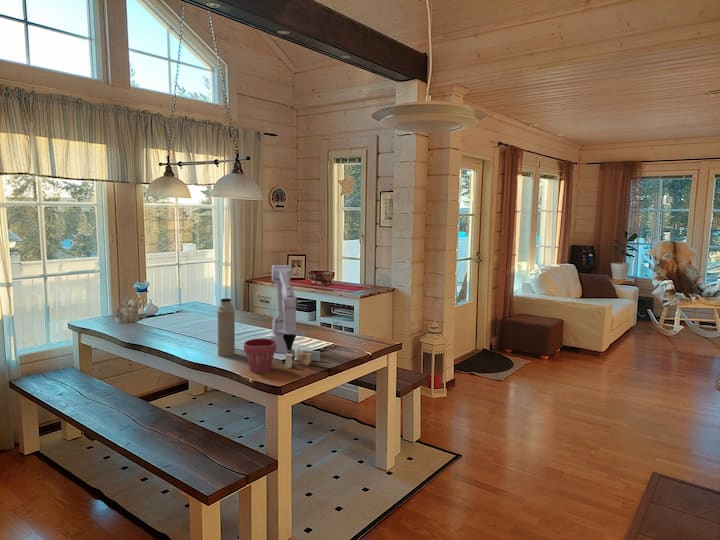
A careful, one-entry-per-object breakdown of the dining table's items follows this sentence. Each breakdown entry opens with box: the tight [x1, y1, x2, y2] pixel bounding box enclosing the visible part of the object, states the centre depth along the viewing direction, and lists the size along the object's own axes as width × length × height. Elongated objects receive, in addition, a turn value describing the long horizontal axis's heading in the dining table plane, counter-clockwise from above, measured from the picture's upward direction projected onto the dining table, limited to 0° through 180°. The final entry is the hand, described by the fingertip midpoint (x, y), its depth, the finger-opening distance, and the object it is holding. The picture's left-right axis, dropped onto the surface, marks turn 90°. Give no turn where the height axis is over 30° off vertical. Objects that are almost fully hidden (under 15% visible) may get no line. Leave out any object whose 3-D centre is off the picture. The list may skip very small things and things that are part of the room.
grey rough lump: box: [114, 296, 140, 324], centre depth 310 cm, size 16×16×15 cm
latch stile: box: [285, 353, 293, 369], centre depth 231 cm, size 3×7×6 cm, turn 168°
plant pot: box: [243, 338, 276, 374], centre depth 223 cm, size 14×14×13 cm
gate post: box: [293, 348, 301, 361], centre depth 241 cm, size 4×4×5 cm
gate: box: [301, 349, 321, 362], centre depth 239 cm, size 9×1×4 cm, turn 78°
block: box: [297, 351, 312, 366], centre depth 235 cm, size 5×5×4 cm
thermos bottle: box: [217, 297, 236, 358], centre depth 243 cm, size 8×8×28 cm
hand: (289, 349), depth 236 cm, fingers closed
